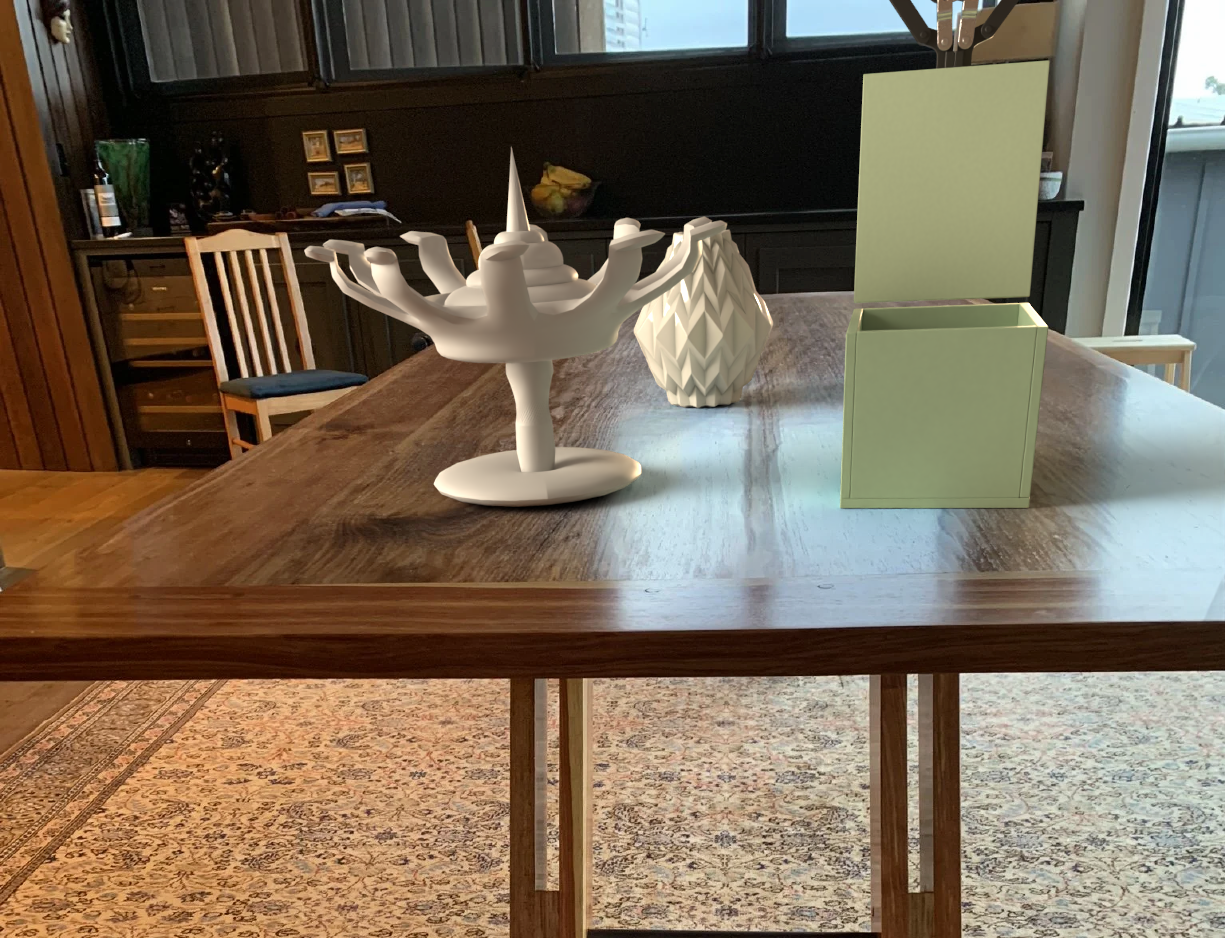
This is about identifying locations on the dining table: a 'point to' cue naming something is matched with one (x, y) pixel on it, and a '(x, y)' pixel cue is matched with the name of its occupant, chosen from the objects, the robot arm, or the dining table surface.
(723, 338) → the vase
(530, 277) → the candelabra
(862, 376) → the chest
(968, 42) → the robot arm
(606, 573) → the dining table surface
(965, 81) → the lid
